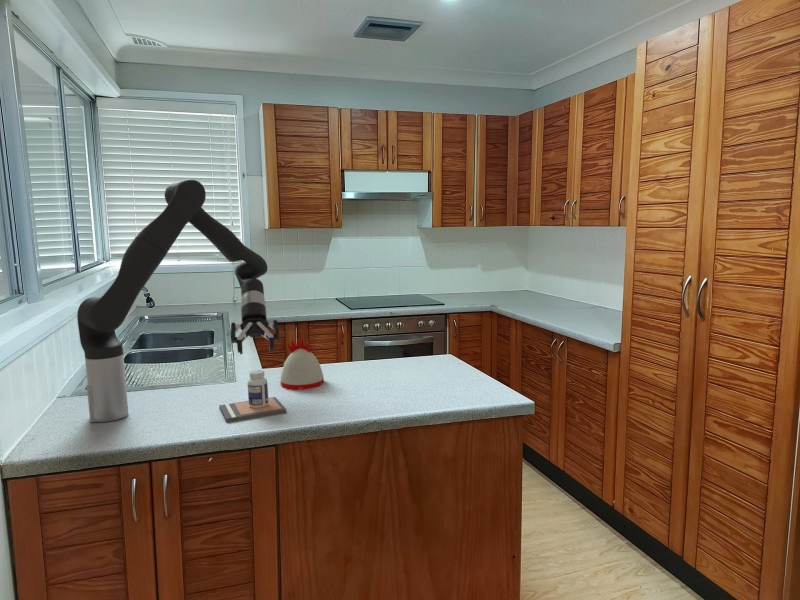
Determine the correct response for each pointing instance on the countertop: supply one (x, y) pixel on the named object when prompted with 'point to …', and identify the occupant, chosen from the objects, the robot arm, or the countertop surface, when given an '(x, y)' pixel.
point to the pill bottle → (257, 389)
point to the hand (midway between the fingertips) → (256, 351)
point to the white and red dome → (301, 369)
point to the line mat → (250, 410)
